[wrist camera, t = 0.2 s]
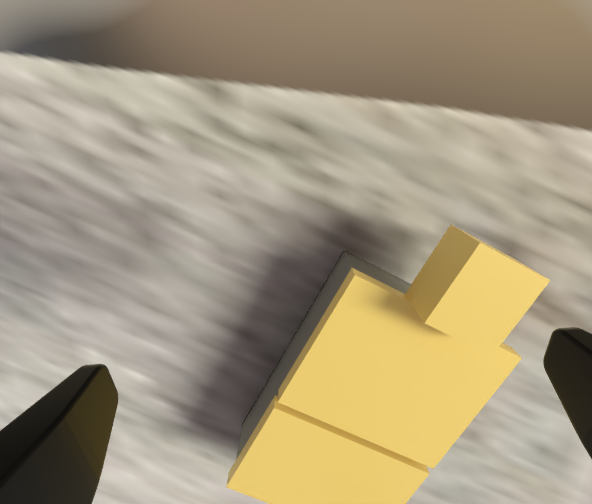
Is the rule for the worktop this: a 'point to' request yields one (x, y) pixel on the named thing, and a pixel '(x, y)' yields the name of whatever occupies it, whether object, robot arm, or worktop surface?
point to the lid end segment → (415, 349)
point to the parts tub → (317, 435)
